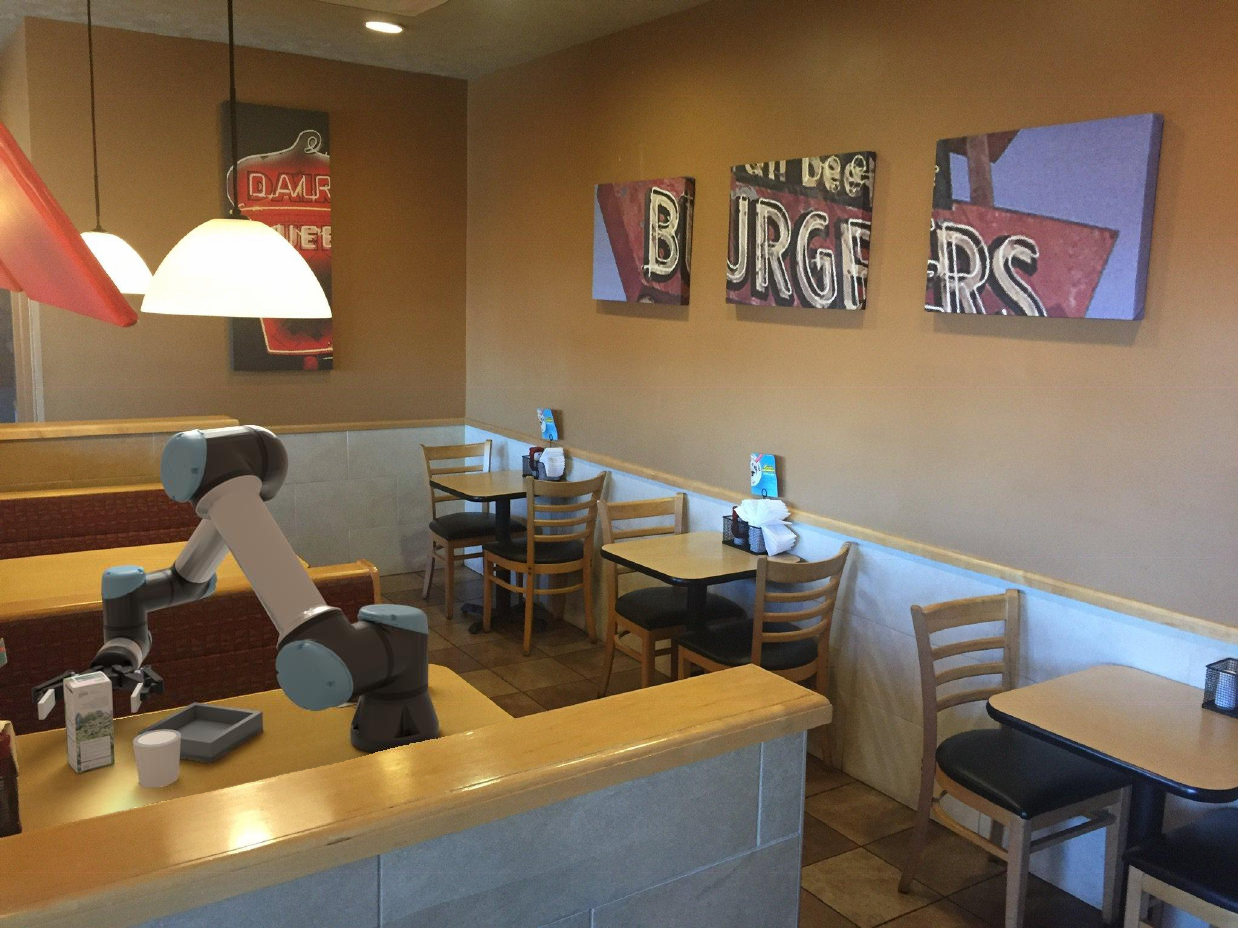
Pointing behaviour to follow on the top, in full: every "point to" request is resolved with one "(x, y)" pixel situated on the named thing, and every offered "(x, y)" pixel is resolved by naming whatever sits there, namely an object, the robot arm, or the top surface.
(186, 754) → the tray
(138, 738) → the white cup
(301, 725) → the top surface
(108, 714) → the syrup box
